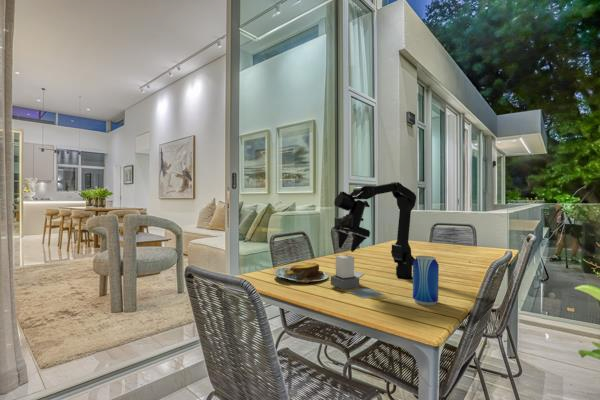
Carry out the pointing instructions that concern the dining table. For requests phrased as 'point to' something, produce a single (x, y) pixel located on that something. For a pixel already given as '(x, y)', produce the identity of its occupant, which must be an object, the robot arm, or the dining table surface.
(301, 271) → the food on plate
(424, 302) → the beer can
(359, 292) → the rubber mat
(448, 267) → the dining table surface
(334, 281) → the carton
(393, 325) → the dining table surface
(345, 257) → the box
